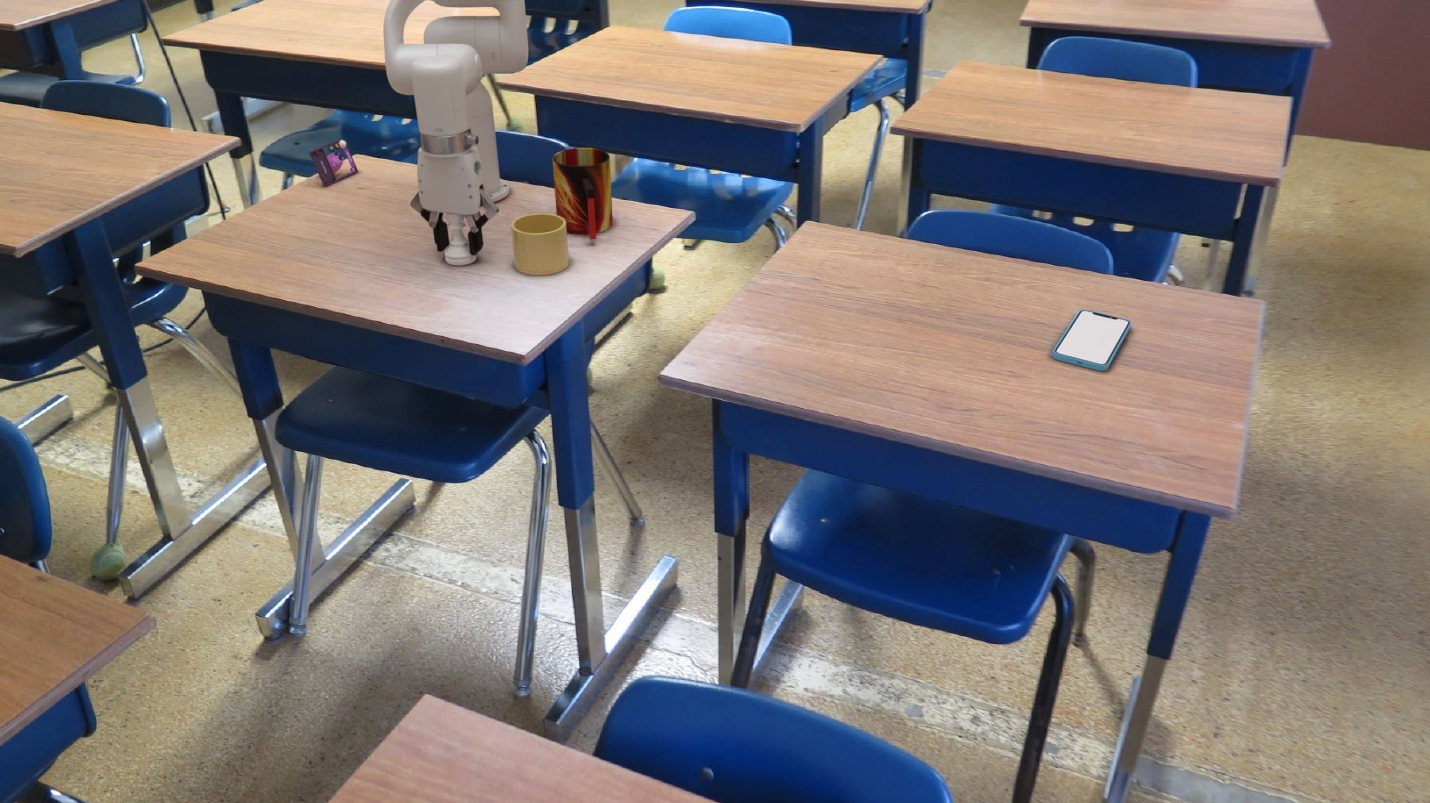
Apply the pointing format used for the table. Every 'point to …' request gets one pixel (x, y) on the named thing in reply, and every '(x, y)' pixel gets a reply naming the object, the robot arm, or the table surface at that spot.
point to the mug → (583, 190)
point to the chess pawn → (458, 242)
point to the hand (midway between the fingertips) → (459, 249)
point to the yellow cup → (540, 244)
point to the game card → (331, 162)
